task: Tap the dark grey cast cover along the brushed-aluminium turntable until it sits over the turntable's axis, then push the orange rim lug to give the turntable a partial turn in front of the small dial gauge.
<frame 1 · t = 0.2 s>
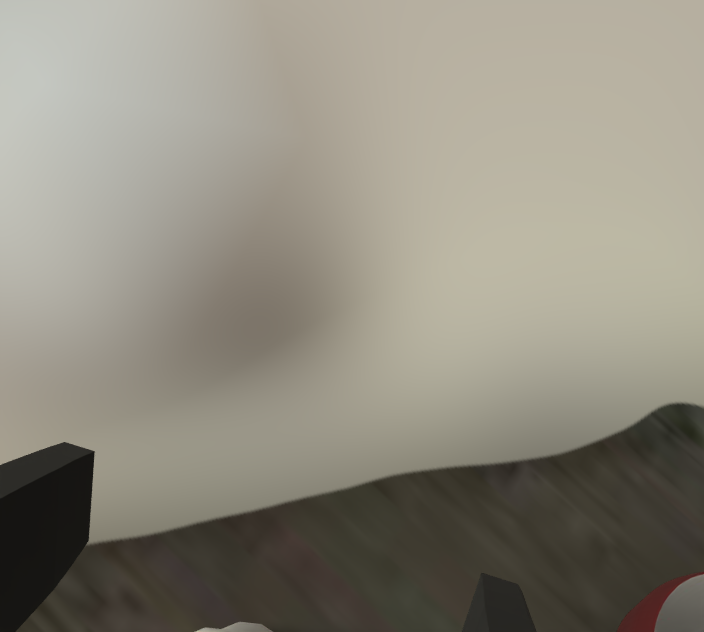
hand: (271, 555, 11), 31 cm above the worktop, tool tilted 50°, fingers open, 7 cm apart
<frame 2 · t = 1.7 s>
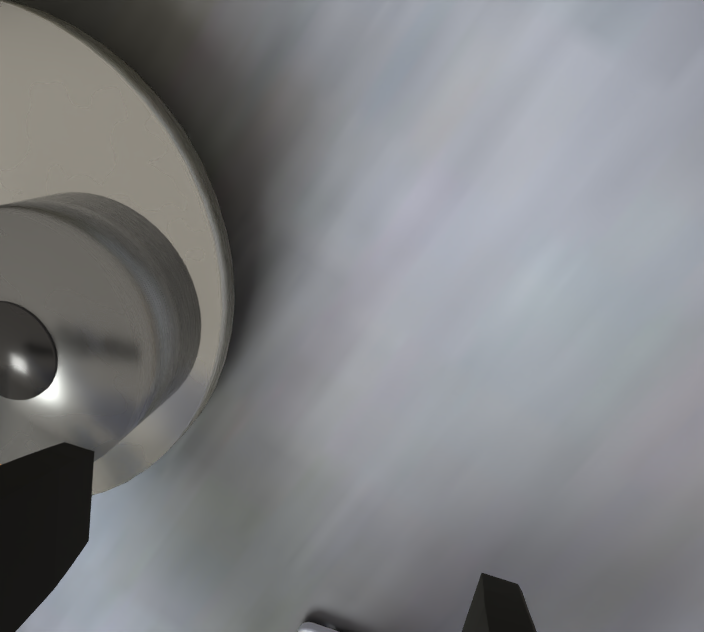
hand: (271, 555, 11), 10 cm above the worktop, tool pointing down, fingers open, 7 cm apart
cover: (93, 309, 20), point 2 cm above the worktop, touching turntable
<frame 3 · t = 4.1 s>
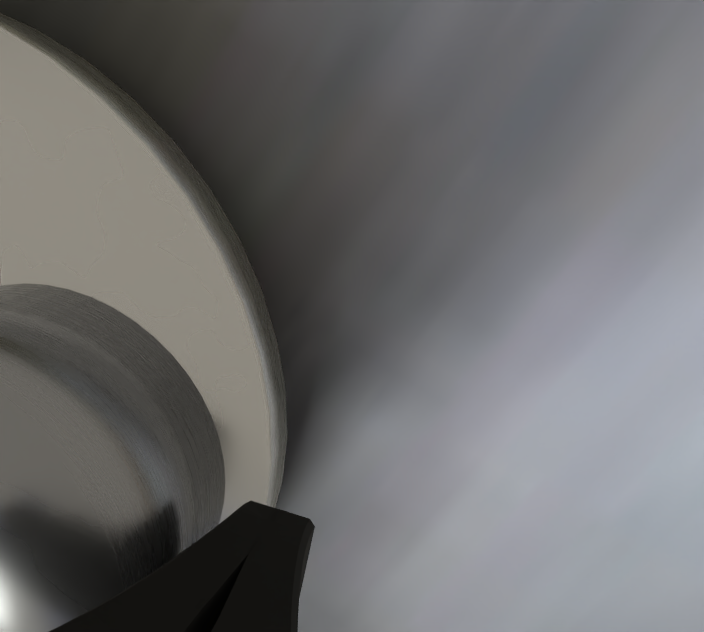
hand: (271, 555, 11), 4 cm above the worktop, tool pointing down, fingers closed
cover: (62, 451, 13), point 3 cm above the worktop, touching gripper
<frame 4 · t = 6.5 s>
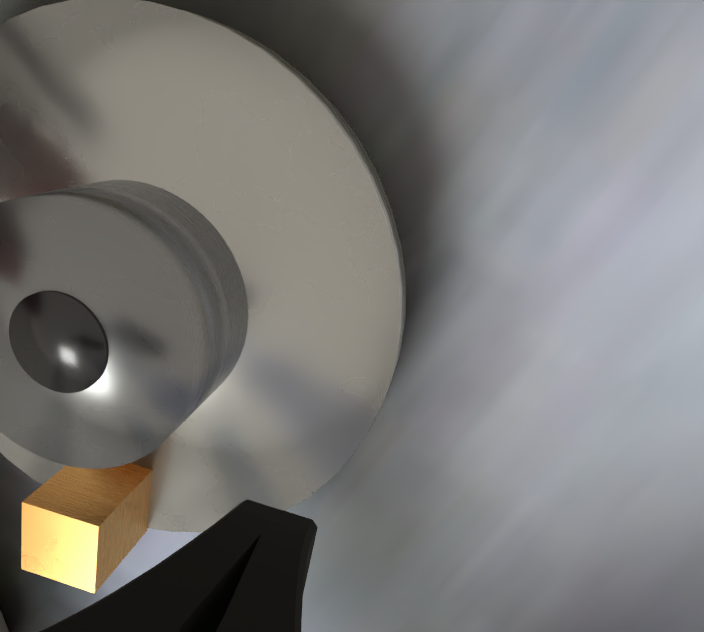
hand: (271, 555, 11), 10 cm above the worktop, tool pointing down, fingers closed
cover: (135, 300, 19), point 2 cm above the worktop, touching turntable
turntable: (112, 307, 18), point 3 cm above the worktop, hinge at 0.0°, touching cover
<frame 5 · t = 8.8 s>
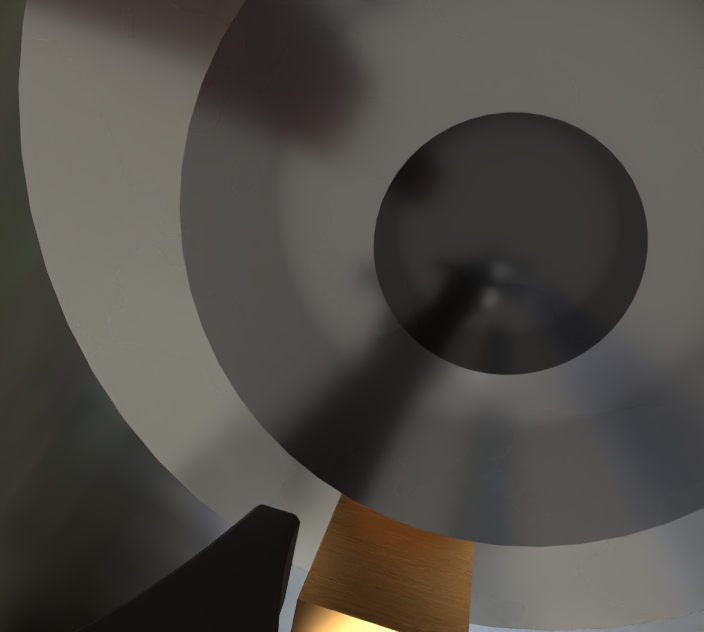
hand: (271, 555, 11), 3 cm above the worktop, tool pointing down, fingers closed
cover: (504, 199, 10), point 2 cm above the worktop, touching turntable
turntable: (491, 203, 9), point 3 cm above the worktop, hinge at 0.5°, touching cover, gripper
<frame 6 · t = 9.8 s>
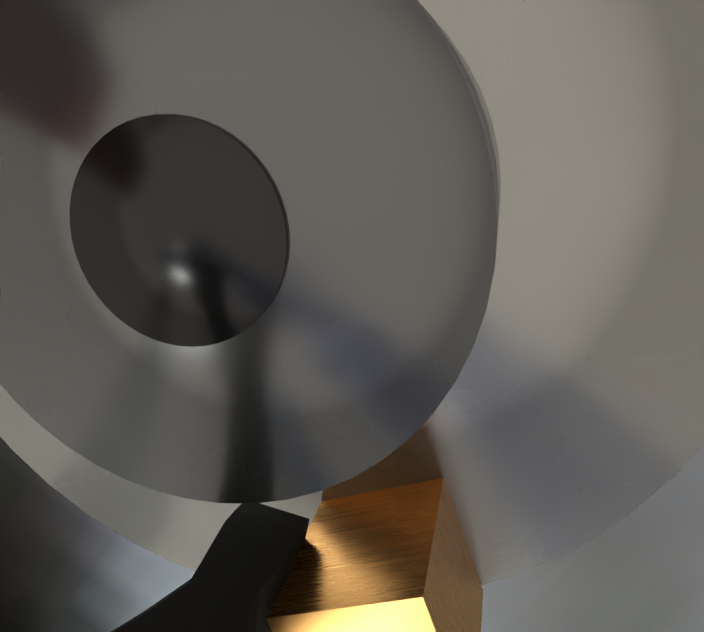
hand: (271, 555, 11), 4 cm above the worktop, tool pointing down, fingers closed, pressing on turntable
cover: (280, 194, 11), point 2 cm above the worktop, touching turntable
turntable: (248, 203, 10), point 3 cm above the worktop, hinge at 31.9°, touching cover, gripper
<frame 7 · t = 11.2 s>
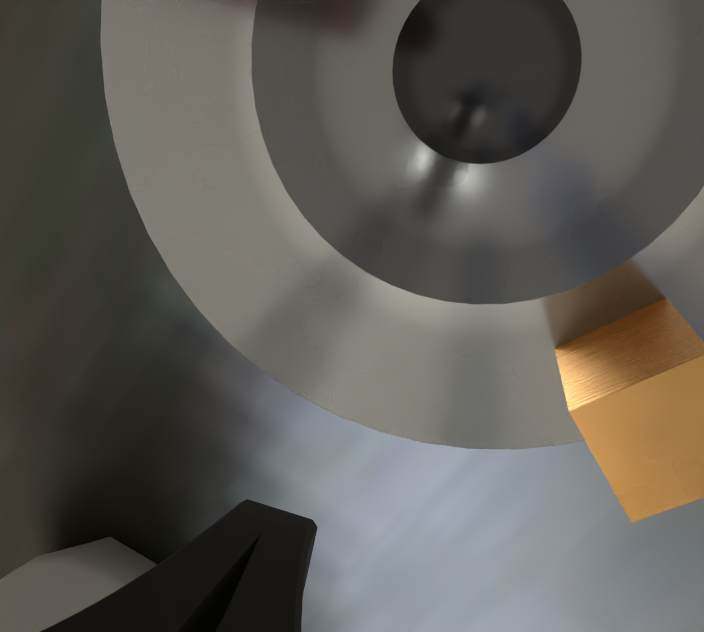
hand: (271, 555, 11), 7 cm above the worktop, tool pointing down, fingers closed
cover: (487, 77, 13), point 2 cm above the worktop, touching turntable
turntable: (476, 79, 12), point 3 cm above the worktop, hinge at 42.8°, touching cover
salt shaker: (119, 583, 22), on the worktop
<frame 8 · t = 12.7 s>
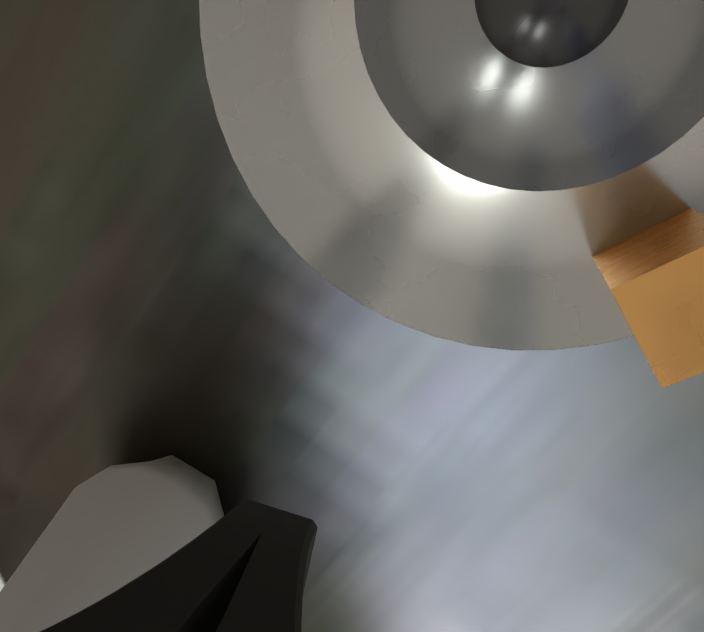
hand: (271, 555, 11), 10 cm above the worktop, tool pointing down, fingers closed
cover: (540, 12, 15), point 2 cm above the worktop, touching turntable
turntable: (533, 11, 14), point 3 cm above the worktop, hinge at 42.8°, touching cover
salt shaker: (177, 500, 24), on the worktop
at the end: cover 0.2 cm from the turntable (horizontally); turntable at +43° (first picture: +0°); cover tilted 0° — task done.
